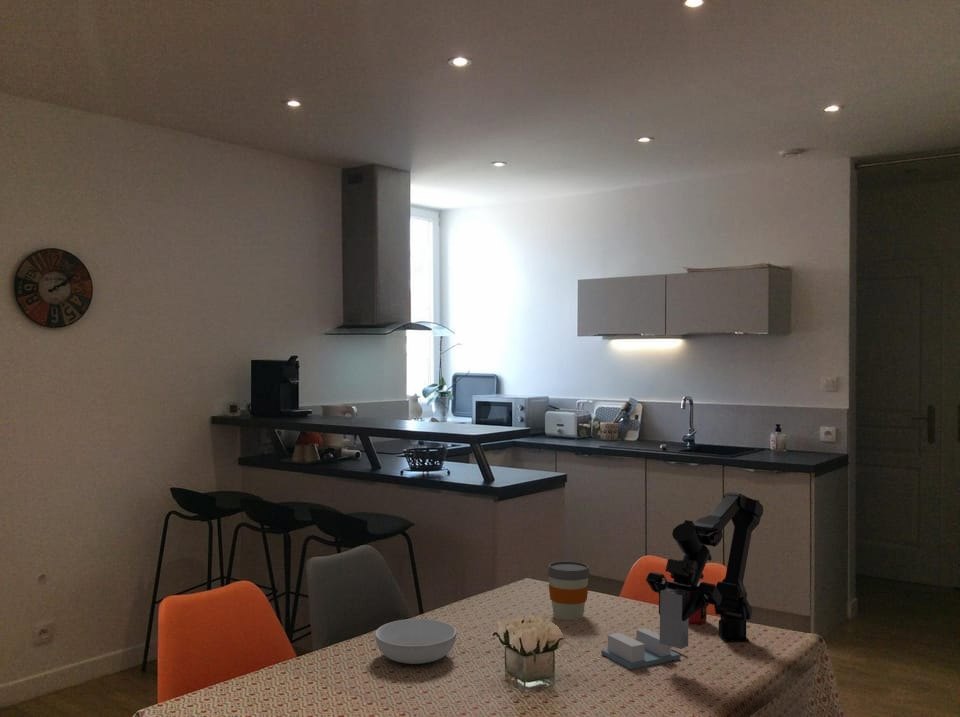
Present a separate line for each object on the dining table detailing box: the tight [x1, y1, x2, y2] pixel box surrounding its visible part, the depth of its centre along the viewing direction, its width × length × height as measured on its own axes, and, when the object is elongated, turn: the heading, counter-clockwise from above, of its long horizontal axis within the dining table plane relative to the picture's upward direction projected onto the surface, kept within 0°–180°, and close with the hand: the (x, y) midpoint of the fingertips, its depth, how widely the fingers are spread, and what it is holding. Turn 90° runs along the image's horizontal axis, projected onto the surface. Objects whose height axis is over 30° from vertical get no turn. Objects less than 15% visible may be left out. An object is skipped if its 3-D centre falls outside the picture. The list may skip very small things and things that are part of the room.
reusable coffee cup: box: [547, 560, 591, 621], centre depth 248 cm, size 13×13×15 cm
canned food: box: [682, 581, 708, 625], centre depth 244 cm, size 8×8×11 cm
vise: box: [601, 628, 681, 670], centre depth 214 cm, size 20×12×5 cm, turn 118°
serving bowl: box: [374, 618, 457, 665], centre depth 212 cm, size 21×21×7 cm
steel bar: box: [659, 588, 690, 650], centre depth 204 cm, size 4×6×13 cm, turn 48°
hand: (671, 617), depth 204 cm, fingers closed on steel bar, 6 cm apart
